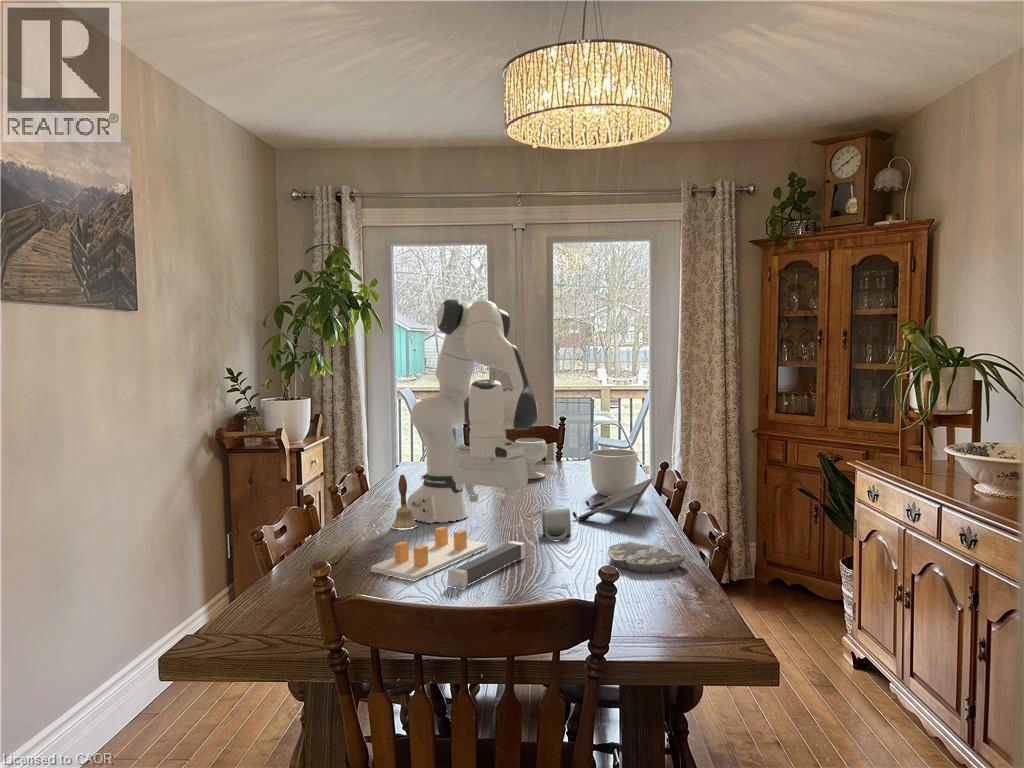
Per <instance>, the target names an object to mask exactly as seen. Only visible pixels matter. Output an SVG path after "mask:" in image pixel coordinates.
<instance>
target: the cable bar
mask: <svg viewBox="0 0 1024 768" xmlns="http://www.w3.org/2000/svg"><path fill="white" fill-rule="evenodd" d="M523 557H525V558H526V542H522V541H521V542H520V541H514V540H511V541H509V542H507V544H505V545H502V546H500V547H498V548H496V549H494V550H492V551H490V552H486V553H485V554H482V555H481V556H478V557H477V558H473V559H472V560H470V561H468V562H465V563H464V564H461V565H459V566H457V567H453V568H450V569H448V570H447V577H448V579H447V581H448V586H452V587H456V588H460V589H463V588H465V587H467V586H468V584H470V583H472V582H474V581H476V580H478V579H480V578H481V577H483V576H486V575H487V574H489V573H491V572H493V571H495V570H497V569H499V568H501V567H503V566H504V565H506V564H508V563H510V562H512V561H514V560H517V559H519V558H523ZM468 587H469V586H468Z"/></svg>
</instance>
